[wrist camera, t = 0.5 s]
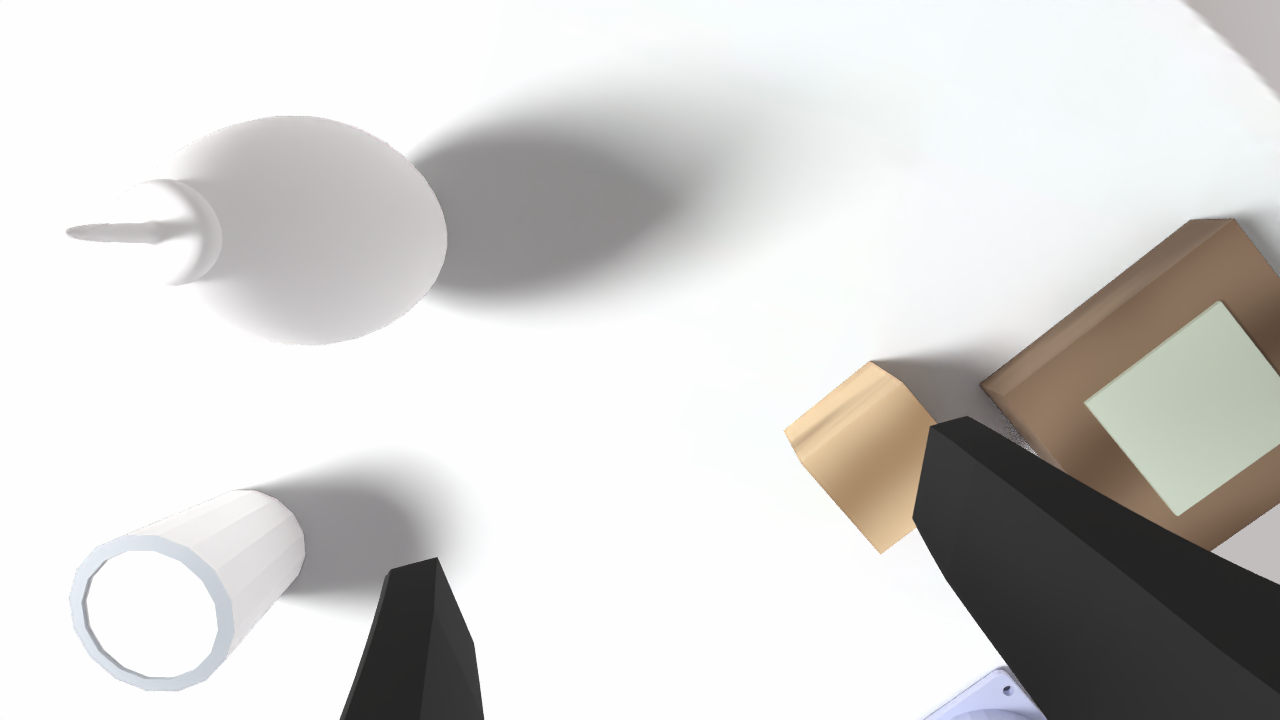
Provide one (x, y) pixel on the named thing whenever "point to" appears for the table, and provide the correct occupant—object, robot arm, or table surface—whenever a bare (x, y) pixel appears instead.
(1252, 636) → the robot arm
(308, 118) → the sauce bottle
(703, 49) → the table surface
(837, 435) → the oak cube
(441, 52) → the table surface
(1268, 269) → the walnut base
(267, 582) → the white cup
